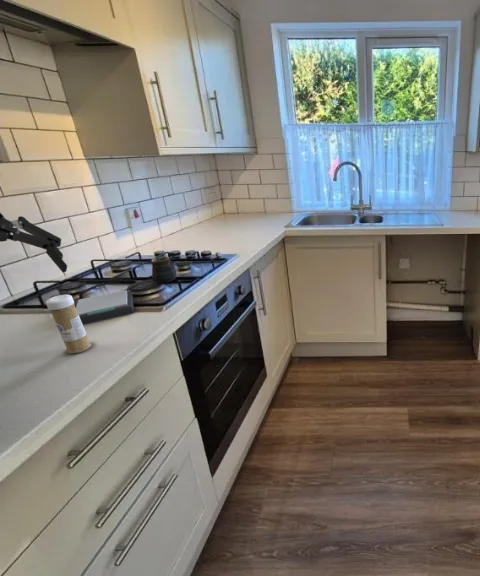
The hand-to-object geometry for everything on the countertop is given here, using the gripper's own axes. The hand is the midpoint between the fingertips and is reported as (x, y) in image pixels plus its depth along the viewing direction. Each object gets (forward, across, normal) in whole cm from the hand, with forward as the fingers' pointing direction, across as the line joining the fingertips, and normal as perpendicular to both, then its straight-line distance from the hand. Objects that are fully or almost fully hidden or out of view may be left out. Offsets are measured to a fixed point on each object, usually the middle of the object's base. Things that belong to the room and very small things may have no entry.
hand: (31, 278), depth 84 cm
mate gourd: (+4, -36, -20) cm, 42 cm away
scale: (+7, -14, -16) cm, 23 cm away
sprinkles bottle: (+19, 0, -4) cm, 20 cm away
